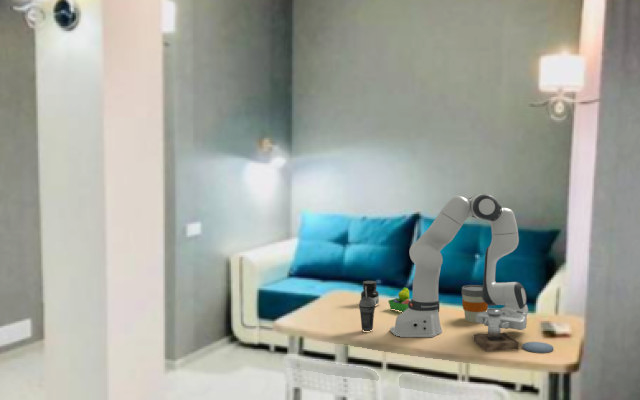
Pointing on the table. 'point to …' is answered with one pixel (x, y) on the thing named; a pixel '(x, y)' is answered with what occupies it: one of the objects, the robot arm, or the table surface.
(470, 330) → the table surface
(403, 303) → the fruit basket
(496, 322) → the steel plug
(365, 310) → the beverage cup
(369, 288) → the ink bottle
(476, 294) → the reusable coffee cup
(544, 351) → the slate rubber mat
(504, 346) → the walnut socket block
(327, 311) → the table surface
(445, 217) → the robot arm
